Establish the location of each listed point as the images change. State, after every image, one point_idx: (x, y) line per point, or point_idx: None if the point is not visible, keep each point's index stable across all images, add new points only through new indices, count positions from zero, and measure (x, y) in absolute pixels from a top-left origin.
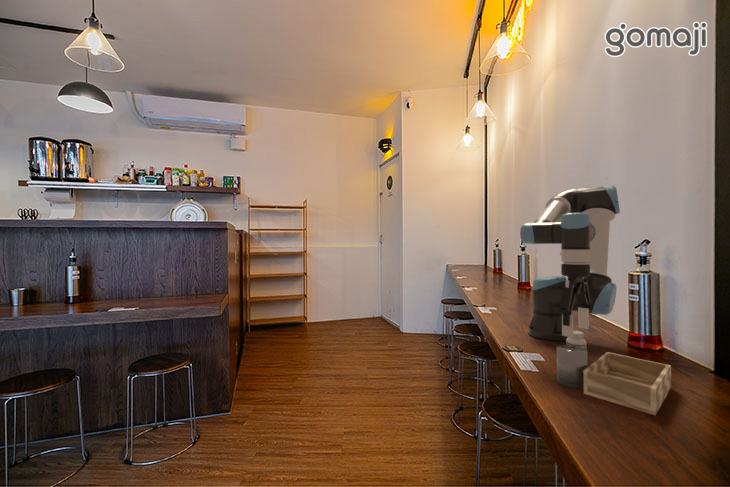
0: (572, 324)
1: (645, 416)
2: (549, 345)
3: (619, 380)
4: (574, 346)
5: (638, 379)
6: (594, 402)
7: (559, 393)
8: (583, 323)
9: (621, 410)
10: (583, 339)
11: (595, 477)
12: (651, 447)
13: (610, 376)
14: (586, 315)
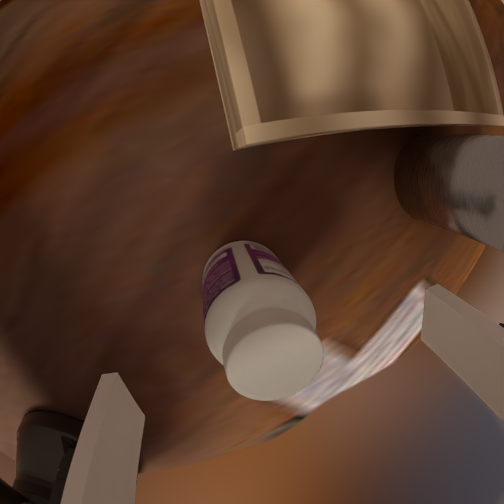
0: (492, 326)
1: None
2: (155, 421)
3: (482, 36)
4: (490, 208)
5: (242, 35)
6: None
7: None
8: (124, 421)
9: None
10: (248, 307)
11: None
12: (488, 13)
13: (485, 56)
14: (97, 466)
